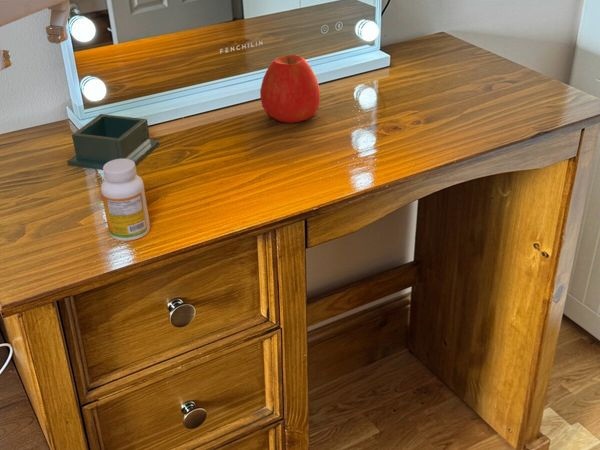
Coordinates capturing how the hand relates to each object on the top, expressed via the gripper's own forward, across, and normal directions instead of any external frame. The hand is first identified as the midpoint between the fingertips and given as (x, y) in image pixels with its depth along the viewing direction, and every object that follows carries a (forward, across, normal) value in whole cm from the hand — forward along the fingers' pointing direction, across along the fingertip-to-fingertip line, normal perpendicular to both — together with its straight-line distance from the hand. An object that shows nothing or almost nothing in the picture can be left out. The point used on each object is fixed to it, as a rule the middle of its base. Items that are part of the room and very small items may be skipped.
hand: (31, 54), depth 85 cm
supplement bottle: (+25, -6, +5) cm, 27 cm away
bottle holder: (+25, -24, -10) cm, 37 cm away
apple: (+25, -48, +10) cm, 55 cm away
